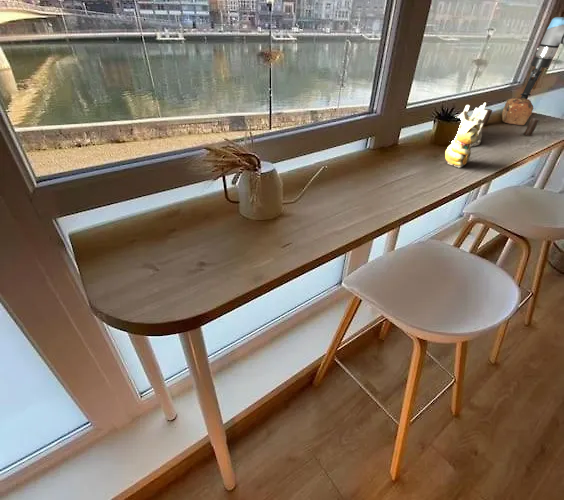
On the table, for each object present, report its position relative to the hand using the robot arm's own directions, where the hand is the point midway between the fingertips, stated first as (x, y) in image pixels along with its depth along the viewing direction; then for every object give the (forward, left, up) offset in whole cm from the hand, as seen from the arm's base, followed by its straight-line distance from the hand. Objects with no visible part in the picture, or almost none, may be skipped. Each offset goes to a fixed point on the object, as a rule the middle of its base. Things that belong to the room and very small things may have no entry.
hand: (518, 108), depth 169 cm
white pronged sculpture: (+12, +62, -3) cm, 63 cm away
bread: (0, +12, -3) cm, 12 cm away
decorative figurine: (+6, +91, -3) cm, 91 cm away
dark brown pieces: (0, +33, -3) cm, 33 cm away
